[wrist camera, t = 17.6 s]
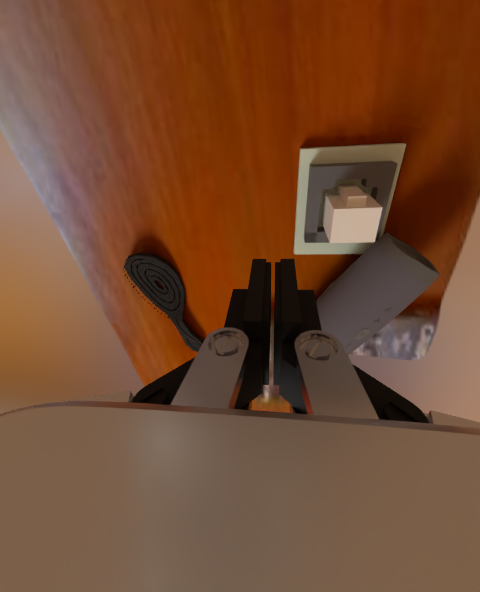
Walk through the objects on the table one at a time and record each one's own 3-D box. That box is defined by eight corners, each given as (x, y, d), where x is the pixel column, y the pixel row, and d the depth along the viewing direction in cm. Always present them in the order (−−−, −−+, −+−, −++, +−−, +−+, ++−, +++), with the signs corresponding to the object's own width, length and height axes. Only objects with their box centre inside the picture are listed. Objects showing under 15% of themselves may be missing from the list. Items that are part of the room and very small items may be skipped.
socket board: (300, 148, 33) (301, 151, 31) (402, 142, 32) (413, 146, 29) (293, 250, 41) (294, 260, 39) (375, 250, 40) (382, 260, 37)
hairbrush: (183, 363, 56) (108, 266, 43) (187, 350, 59) (118, 255, 45) (219, 356, 54) (151, 251, 40) (221, 343, 57) (159, 240, 43)
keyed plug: (325, 184, 34) (335, 199, 29) (366, 182, 34) (384, 197, 28) (321, 222, 37) (329, 243, 32) (359, 221, 37) (374, 242, 31)
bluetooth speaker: (317, 338, 52) (333, 384, 44) (277, 324, 49) (287, 370, 41) (414, 246, 40) (460, 287, 32) (369, 218, 37) (407, 257, 29)
